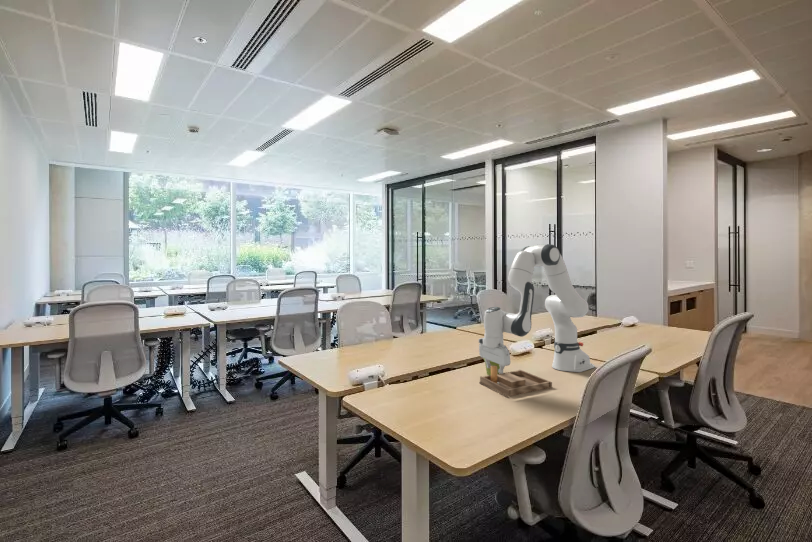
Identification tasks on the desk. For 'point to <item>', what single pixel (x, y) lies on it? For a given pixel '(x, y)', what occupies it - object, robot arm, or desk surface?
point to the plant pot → (490, 368)
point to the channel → (515, 383)
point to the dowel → (494, 374)
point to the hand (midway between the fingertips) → (494, 370)
